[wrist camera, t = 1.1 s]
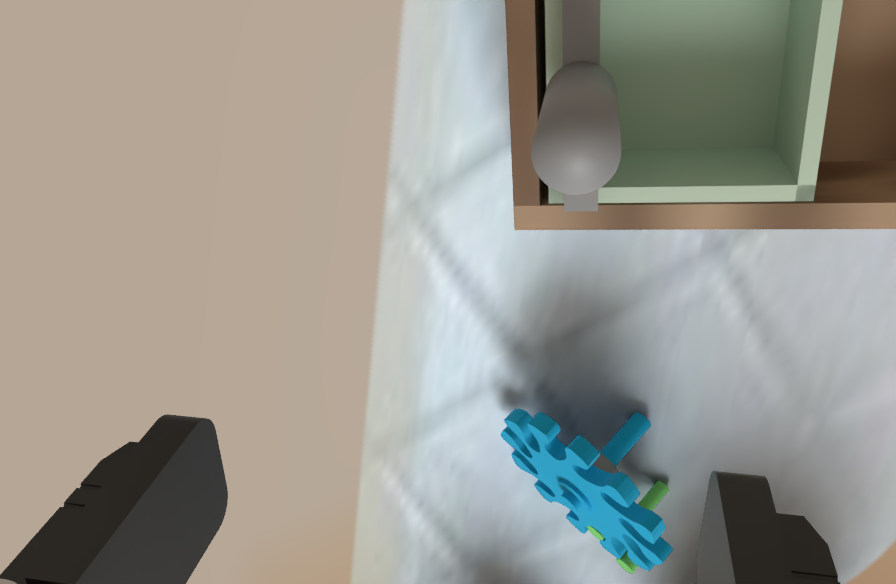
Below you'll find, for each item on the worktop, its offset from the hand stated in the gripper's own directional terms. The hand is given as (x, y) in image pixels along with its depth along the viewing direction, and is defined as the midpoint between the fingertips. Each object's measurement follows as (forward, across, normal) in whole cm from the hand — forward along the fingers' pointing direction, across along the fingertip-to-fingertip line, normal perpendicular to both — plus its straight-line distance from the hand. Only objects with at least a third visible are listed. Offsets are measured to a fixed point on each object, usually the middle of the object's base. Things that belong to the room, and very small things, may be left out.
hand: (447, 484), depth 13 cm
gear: (+25, -3, +18) cm, 31 cm away
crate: (+23, -5, -2) cm, 24 cm away
